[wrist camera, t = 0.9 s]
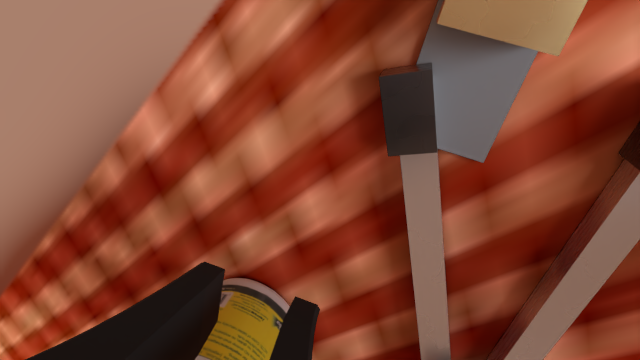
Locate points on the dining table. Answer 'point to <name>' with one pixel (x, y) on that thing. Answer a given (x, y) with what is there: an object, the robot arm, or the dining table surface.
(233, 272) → the dining table surface
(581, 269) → the dark-tipped long bar
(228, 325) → the pill bottle
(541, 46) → the block
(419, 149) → the tong arm
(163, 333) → the robot arm
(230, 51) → the dining table surface
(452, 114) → the plate
